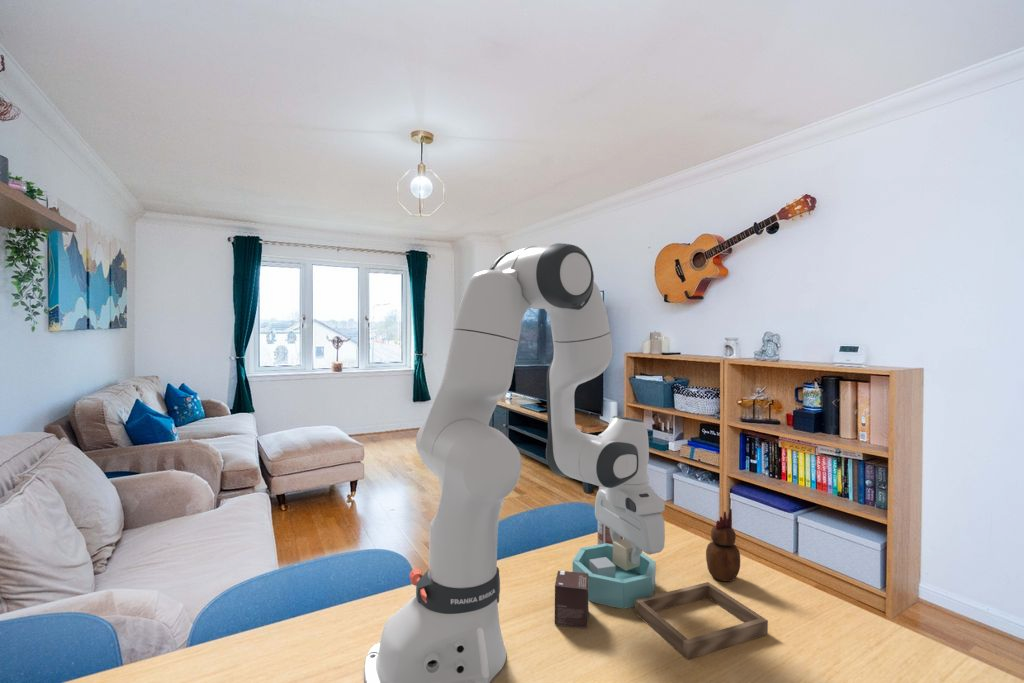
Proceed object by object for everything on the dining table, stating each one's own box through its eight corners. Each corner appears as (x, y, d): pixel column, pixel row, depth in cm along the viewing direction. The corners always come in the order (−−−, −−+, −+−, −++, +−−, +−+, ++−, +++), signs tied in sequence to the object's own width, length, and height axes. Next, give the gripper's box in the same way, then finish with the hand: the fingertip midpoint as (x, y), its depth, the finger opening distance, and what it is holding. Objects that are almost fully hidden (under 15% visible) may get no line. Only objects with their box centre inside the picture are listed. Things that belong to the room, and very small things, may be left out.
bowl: (602, 614, 90) (602, 587, 90) (561, 573, 105) (562, 551, 105) (670, 597, 97) (671, 572, 96) (623, 561, 112) (623, 540, 111)
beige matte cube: (626, 570, 99) (626, 549, 99) (612, 562, 103) (612, 542, 103) (639, 566, 101) (640, 544, 101) (626, 558, 105) (626, 537, 105)
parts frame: (687, 659, 78) (687, 644, 78) (634, 612, 91) (635, 599, 91) (767, 634, 85) (767, 620, 85) (708, 594, 98) (708, 582, 98)
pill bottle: (626, 547, 119) (627, 503, 119) (616, 556, 114) (616, 510, 114) (604, 540, 123) (604, 497, 122) (592, 549, 118) (593, 504, 117)
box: (587, 629, 86) (587, 589, 86) (553, 625, 87) (554, 585, 87) (588, 610, 92) (589, 572, 92) (557, 606, 93) (557, 569, 93)
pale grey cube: (597, 590, 97) (598, 568, 97) (588, 580, 101) (589, 559, 101) (615, 587, 99) (615, 565, 98) (605, 577, 102) (605, 557, 102)
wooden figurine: (733, 572, 107) (734, 505, 107) (743, 585, 101) (744, 515, 101) (702, 570, 108) (703, 504, 107) (710, 583, 102) (711, 513, 102)
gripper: (588, 479, 110) (587, 539, 110) (644, 510, 91) (643, 582, 91) (611, 476, 113) (610, 535, 113) (670, 506, 94) (669, 576, 94)
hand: (625, 556), depth 102 cm, fingers closed on beige matte cube, 4 cm apart
